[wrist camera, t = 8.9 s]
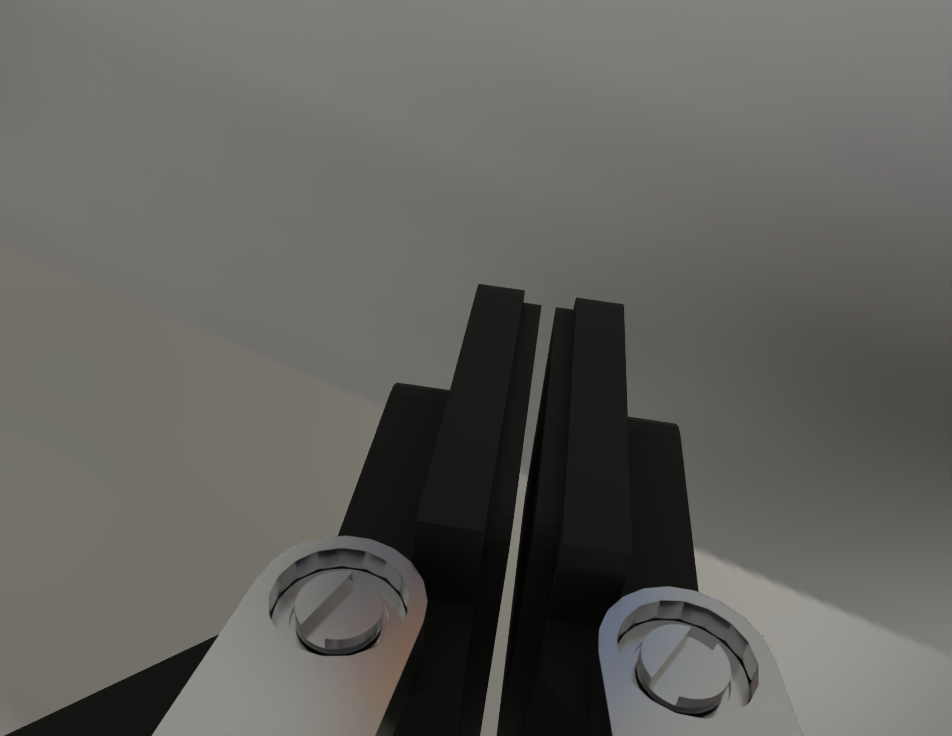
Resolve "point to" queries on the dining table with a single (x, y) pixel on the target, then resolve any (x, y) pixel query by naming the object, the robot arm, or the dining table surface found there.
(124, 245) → the dining table surface
